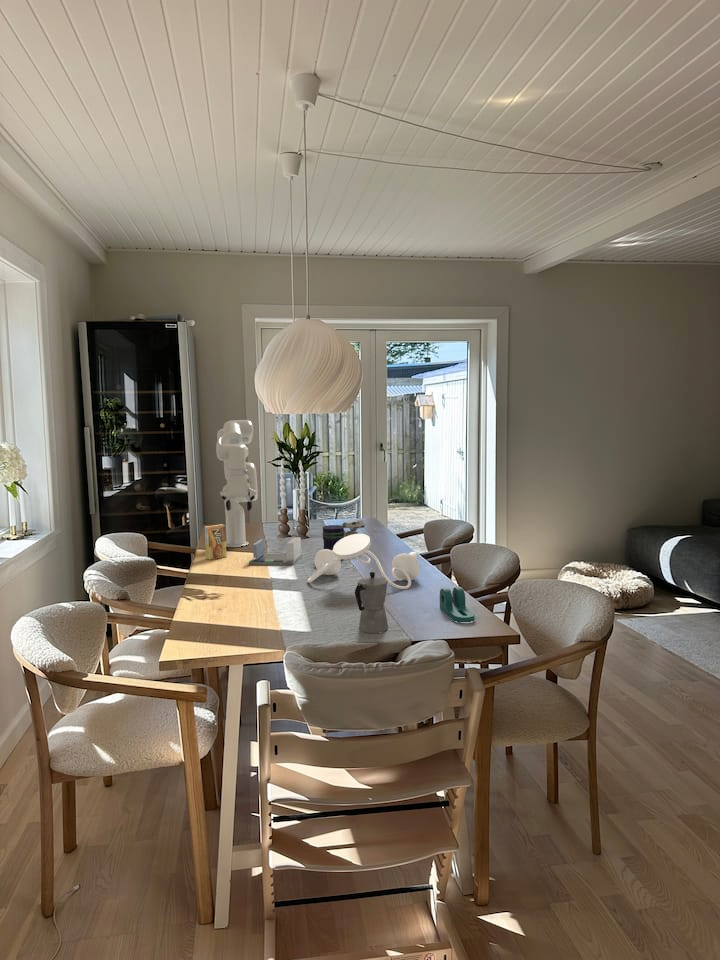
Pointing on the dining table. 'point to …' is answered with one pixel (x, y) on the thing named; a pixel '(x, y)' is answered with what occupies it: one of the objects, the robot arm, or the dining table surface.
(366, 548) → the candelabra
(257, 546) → the pressure plate
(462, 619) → the bracket
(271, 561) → the gauge housing
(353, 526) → the figurine
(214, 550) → the candy box
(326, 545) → the storage jar
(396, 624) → the dining table surface
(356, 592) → the coffeepot
